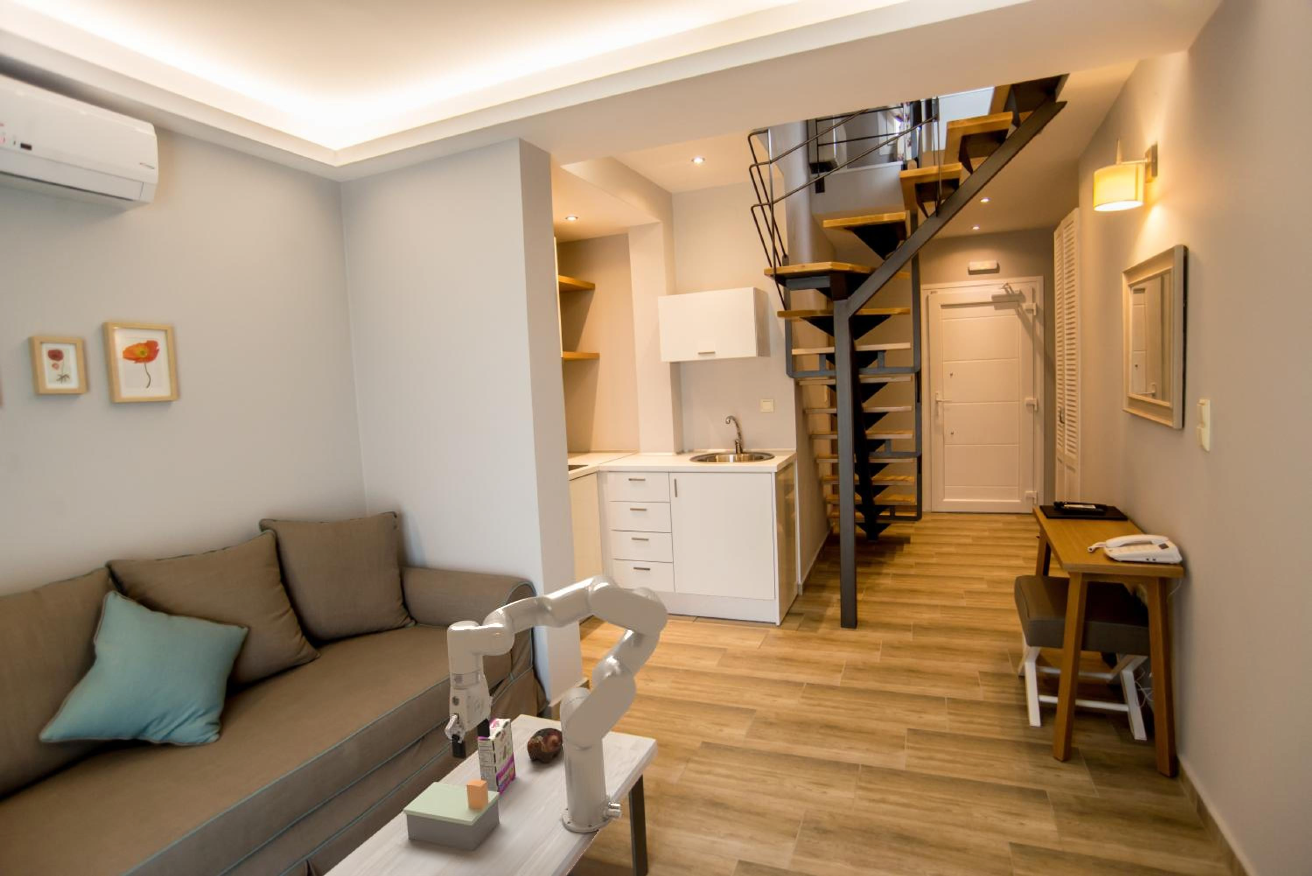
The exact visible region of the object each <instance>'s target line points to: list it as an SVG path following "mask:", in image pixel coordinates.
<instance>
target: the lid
mask: <svg viewBox="0 0 1312 876" xmlns="http://www.w3.org/2000/svg"><path fill="white" fill-rule="evenodd" d="M500 796H501V795H500V793H499V792H494V791H488V788H487V781H483V780H481V779H477V778H471V780H470V781H468V783H466V786H461V785H456V784H450V783H443V782H438V781H434V782H433V783H431V784H430V785H429V786H428V787H427V788H426V789H425V790H423V791H422V792H421V793H420V794H419V795H418V796H417V797H415V799H413V800H412V801H411V802H410V803H409V804H408V805H406V806H405V807H404V808H403V809H402V811H403V814H404V815H406V814H410V815H415V816H421V817H427V818H432V819H438V820H443V821H449V822H454V823H460V824H465V825H471V826H472V825H473V824H474V823H475V822H476V821H477V820H478V819H479V818H480V817H481V815H482V814H483V813H484V812H485V811H486V810H487V809H488V808H489V807H490V806H491V805H492V804H493V803H494V802H495V801H496V800H497V799H499V797H500Z"/></svg>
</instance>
